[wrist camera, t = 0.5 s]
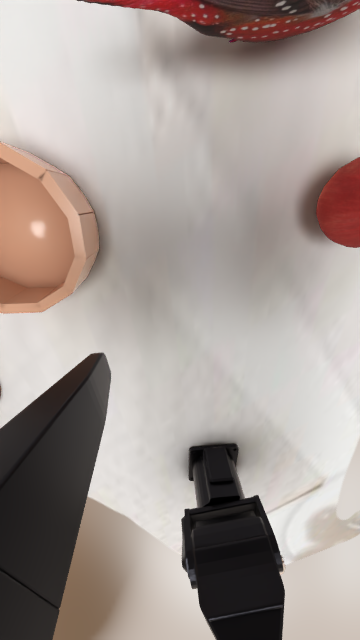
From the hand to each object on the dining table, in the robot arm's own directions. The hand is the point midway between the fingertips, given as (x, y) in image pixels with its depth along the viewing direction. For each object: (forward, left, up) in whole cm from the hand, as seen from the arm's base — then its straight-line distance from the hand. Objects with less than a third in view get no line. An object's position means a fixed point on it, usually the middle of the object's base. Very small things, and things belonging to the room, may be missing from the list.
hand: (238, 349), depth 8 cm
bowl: (+2, +12, -14) cm, 19 cm away
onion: (+4, -12, -15) cm, 19 cm away
